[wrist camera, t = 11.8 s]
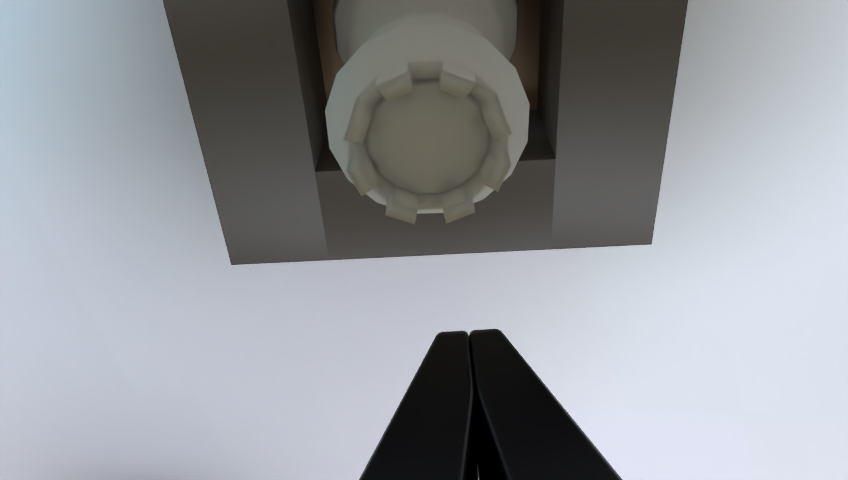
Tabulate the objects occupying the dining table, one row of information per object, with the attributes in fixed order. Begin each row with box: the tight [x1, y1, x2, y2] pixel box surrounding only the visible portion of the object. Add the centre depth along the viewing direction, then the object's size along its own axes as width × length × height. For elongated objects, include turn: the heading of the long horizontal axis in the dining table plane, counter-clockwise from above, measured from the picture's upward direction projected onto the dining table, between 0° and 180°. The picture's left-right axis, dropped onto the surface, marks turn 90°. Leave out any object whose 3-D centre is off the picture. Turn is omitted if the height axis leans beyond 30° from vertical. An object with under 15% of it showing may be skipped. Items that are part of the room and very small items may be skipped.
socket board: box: [163, 0, 688, 265], centre depth 16 cm, size 14×12×4 cm
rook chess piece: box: [325, 0, 530, 224], centre depth 13 cm, size 4×4×8 cm
